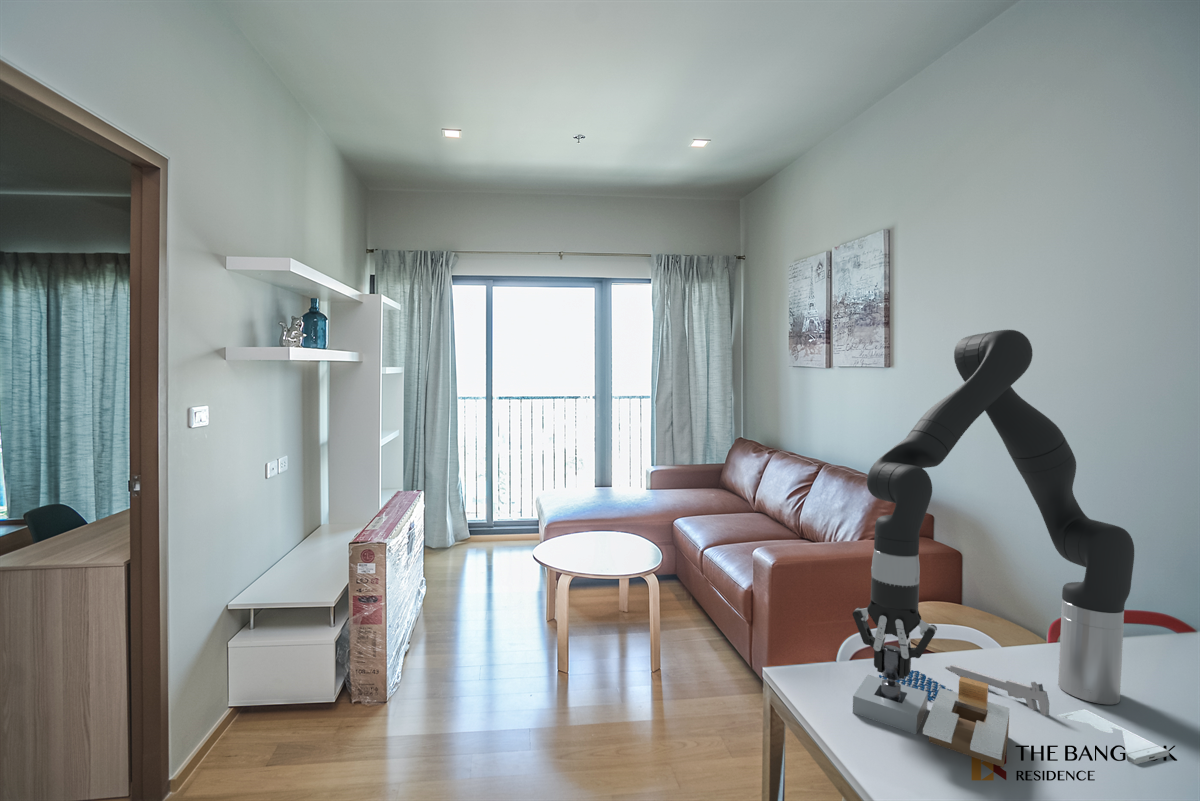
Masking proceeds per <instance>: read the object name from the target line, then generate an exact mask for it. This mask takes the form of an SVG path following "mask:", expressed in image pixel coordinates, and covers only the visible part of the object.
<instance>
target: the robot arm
mask: <svg viewBox="0 0 1200 801" xmlns="http://www.w3.org/2000/svg"><path fill="white" fill-rule="evenodd" d="M953 358H954V364H955V367H956V369H957V371H958V374H959V375H960V376H961V378H962V380H963V382H964V383H962V384H961V385H960V386H958V388H956V389H955V390H954V391H952V392H951V393H949V394H948V395H946V396H945V397H943V398H942V399H940V400H939V401H938V402H937V403H935V404H934V405H933V406H932V407H931V408H929V409H928V410H927V411H926V412H925V413H924V414H923V415H922V416H921V417H920V419H919V420H918V421H917V423H916V424H915V425H914V426H913V428H911V430H910V432H908V434H907V435H906V437H905V438H904V439H903V440H901V441H900V442H898V443H897V444H895V445H894V446H893V447H892V448H891V449H889V450H888V451H886V453H884V454H883V455H882V456H879V458H878V459H877V460H876V461H875V462H874V463H873V464H872V466H871V468H870V469H869V471H868V473H867V477H866V487H867V490H868V491H869V493H870V495H872V496H873V497H875V498H876V499H878V500H881V501H884V502H889V503H893V504H895V507H894V510H893V512H892V514H886V515H881V516H879V517H878V518H877V519H876V520H875V524H874V538H873V539H874V542H873V543H874V544H873V554H872V559H871V560H872V561H871V567H870V573H871V581H870V602H869V604H868V605H867V607H865V608H861V607H857V608H855V609H854V610H853V611H852V617H853V620H854V623H855V625H856V627H857V630H858V632H859V636H860V638H861V639H862V640H861V641H862V642H863V644H864V645H866V646H870V647H872V649H873V651H874V652H873V653H874V654H873V666H874V668H875V669H877V671H876V672H878V673H882V666H883V646H885V641H886V637H887V635H893V636H895V637H896V638H897V639H898V640H897V641H898V645H899V648H900V650H901V657H900V674H899V678H902V679H905V677H906V676H907V677H908V675H909V673H910V672H911V669H912V668H911V665H912V659H913V658H915V659H919V658H921V657H922V655H923V654H924V652H925V651H926V649H927V647H928V646H929V644H930V643H931V640H932V639H933V638H934V636H935V635H936V633H937V630H938V627H937V626H936V625H935V624H929V623H928V622H926V621H925V620H923V619H922V616H921V614H920V612H919V600H920V599H919V597H920V594H919V593H920V575H921V574H920V573H921V572H920V571H921V570H920V569H921V568H920V566H921V565H920V559H919V557H920V556H919V555H920V554H919V553H920V530H921V528H922V525H923V523H924V519H925V517H926V514H927V511H928V508H929V506H930V502H931V499H932V495H933V484H932V480H931V477H930V475H929V473H928V472H927V471H926V470H925V469H926V468H935V467H937V466H939V465H940V464H942V463H943V462H944V460H945V459H946V457H947V456H948V455H949V454H950V452H951V451H952V450H953V449H954V447H955V446H956V444H957V443H958V442H959V441H960V439H961V438H962V436H964V433H965V432H966V431H967V430H968V429H969V428H970V427H971V425H972V424H973V423H974V422H975V421H976V420H977V419H978V418H979V417H980V416H981V415H982V414H983V413H984V412H986V414H987V416H988V418H989V419H990V421H991V423H992V425H993V427H994V428H995V430H996V431H997V433H998V435H999V437H1000V438H1001V440H1002V443H1003V444H1004V447H1005V448H1006V451H1007V452H1008V454H1009V456H1010V457H1011V461H1012V462H1013V463H1014V465H1015V467H1016V469H1017V470H1018V472H1019V474H1020V476H1021V477H1022V479H1023V481H1024V483H1025V484H1026V486H1027V488H1028V490H1029V491H1030V494H1031V496H1032V498H1033V500H1034V501H1035V504H1036V505H1037V508H1038V509H1039V512H1040V513H1041V517H1042V519H1043V521H1044V524H1045V526H1046V529H1047V532H1048V534H1049V536H1050V539H1051V542H1052V544H1053V546H1054V548H1055V549H1056V551H1057V552H1058V554H1059V555H1060V556H1061V557H1062V558H1064V559H1065V560H1066V561H1068V562H1069V563H1073V564H1074V565H1077V566H1081V567H1083V568H1085V573H1084V578H1083V580H1082V581H1074V582H1073V581H1072V582H1071V581H1070V582H1066V583H1065V584H1063V586H1062V590H1061V597H1062V598H1061V612H1060V613H1061V615H1060V616H1061V619H1060V640H1059V656H1058V657H1059V659H1058V660H1059V663H1058V684H1057V685H1058V686H1059V689H1061V690H1062V691H1063V692H1065V693H1067V694H1069V695H1070V696H1073V697H1075V698H1078V699H1081V700H1083V701H1086V702H1089V703H1090V702H1091V703H1094V704H1099V705H1100V704H1101V705H1116V704H1119V703H1120V702H1121V687H1122V686H1121V683H1122V682H1121V681H1122V665H1123V663H1122V662H1123V641H1124V620H1125V604H1126V601H1127V599H1128V598H1129V596H1130V593H1131V589H1132V587H1131V586H1132V580H1133V571H1134V564H1135V545H1134V541H1133V538H1132V536H1131V534H1130V533H1129V532H1128V531H1127V530H1126V529H1125V528H1123V527H1121V526H1118V525H1116V524H1111V523H1107V522H1103V521H1100V520H1095V519H1091V518H1089V516H1087V515H1086V514H1085V513H1084V511H1083V510H1082V509H1081V506H1080V505H1079V503H1078V501H1077V498H1076V497H1075V495H1074V490H1073V487H1074V482H1075V478H1076V473H1077V472H1076V471H1077V460H1076V457H1075V454H1074V453H1073V449H1072V448H1071V446H1070V444H1069V443H1068V440H1067V439H1066V437H1065V435H1064V434H1063V432H1062V430H1061V429H1060V427H1058V425H1057V424H1056V423H1055V422H1053V420H1051V419H1050V418H1049V417H1048V416H1046V415H1045V414H1044V413H1042V412H1041V411H1039V410H1038V409H1037V408H1036V407H1034V406H1032V405H1031V404H1030V403H1028V402H1027V401H1026V400H1025V399H1023V398H1022V397H1021V396H1020V395H1019V394H1018V393H1017V392H1016V391H1015V390H1014V389H1013V387H1012V385H1013V384H1014V383H1015V382H1017V381H1018V380H1020V378H1021V377H1022V376H1024V374H1025V373H1026V371H1027V370H1028V369H1029V367H1030V365H1031V364H1032V360H1033V347H1032V343H1031V340H1030V339H1029V338H1028V337H1027V336H1026V335H1025V334H1024V333H1022V332H1021V331H1018V330H1015V329H1001V330H994V331H993V330H992V331H988V332H983V333H977V334H973V335H968V336H966V337H963V338H961V339H960V340H959V341H958V342H957V343H956V345H955V347H954V352H953ZM869 617H870V618H871V620H872V621H873V623H874V625H876V628H877V629H876V631H875V636H874V635H873V632H872V630H871V627H870V625H869V623H868V621H867V620H868V619H869ZM917 627H919V634H920V635H921V636H922V637H921V639H920V641H919V642H918V644H917V645H916V647H915V646H914V647H912V644H911V633H912V632H913V631H914V630H915V629H916V628H917ZM902 679H901V680H902Z"/></svg>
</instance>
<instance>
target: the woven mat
mask: <svg viewBox="0 0 1200 801" xmlns="http://www.w3.org/2000/svg"><path fill="white" fill-rule="evenodd" d="M878 678H882V679H885V680H886V679H888V678H886V677H884V676H883V675H882V674H879V675H878ZM895 681H896V682H898V683H899V684H902V685H905V686H909V687H912V688H916V689H919V690H922V691H926V692H928V700H927V703H928V701H929V702H932V701H933V702H934V701H935V699H936V696H937V694H938V691H939V689H940V688H942V689H946V690H949V691H953V689H949V688H947V687H946V685H943V684H941V683H940V682H937V680H934V678H933V677H929V676H927V674H924V673H923V672H922V671H919V670H913V669H912V670H911V671H910V673H909V675H908V677H907V676H906V677H905V679H902V678H901V679H900V680H895ZM953 692H954V691H953Z"/></svg>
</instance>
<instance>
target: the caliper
mask: <svg viewBox="0 0 1200 801" xmlns="http://www.w3.org/2000/svg"><path fill="white" fill-rule="evenodd" d="M944 668H945V670H949V671H950V672H951V673H954V674H956V675H957V674H958V675H957V676H959V677H965V678H969V679H972V680H976V681H980V682H983V683H987V684H988V686H990V687H994V688H997V689H1001V690H1004V691H1006V692H1007V694H1008V696H1009V697H1013V698H1015V699H1025V702H1026V705H1027V707H1028V708H1029V709H1031V710H1032V711H1037V710H1039V712H1040V715H1042V716H1044V717H1047V716H1050V700H1049V697H1048V691H1046V690H1044V687H1043V683H1039V684H1038V683H1037V682H1036V681H1031V682H1030V684H1031V685H1029V684H1025V683H1022V682H1020V681H1019V682H1018V681H1015V680H1011V679H1009V680H1004V679H1000V678H998V677H994V676H991V675H988V674H985V673H982V672H978V671H976V670H972V669H969V668H965V667H962V666H958V665H956V664H951V665H949V666H945V667H944ZM1037 701H1038V702H1037ZM1037 703H1038V704H1037ZM1038 707H1039V709H1038Z"/></svg>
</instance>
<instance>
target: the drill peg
mask: <svg viewBox="0 0 1200 801" xmlns="http://www.w3.org/2000/svg"><path fill="white" fill-rule="evenodd" d="M900 657H901V650H900V647H898V646H895V645H890V644H888V645H887V644H886V645H885V644H884V646H883V666H882V674H881V676H884V677H883V678H885V677H886V678H888V679H886V680H883V681H882V694H881V697H883V698H886V699H889V700H892V701H895V702H899V703H900V695H901V685H900V684H899V683H898V682H896V681H895V680H900V679H901V678H899V674H900ZM901 680H902V679H901Z"/></svg>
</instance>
